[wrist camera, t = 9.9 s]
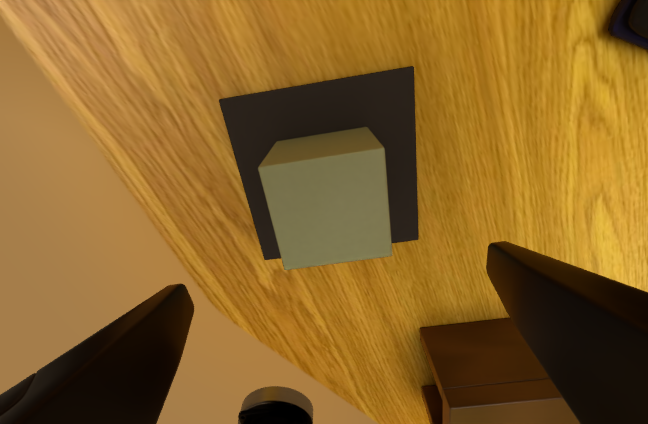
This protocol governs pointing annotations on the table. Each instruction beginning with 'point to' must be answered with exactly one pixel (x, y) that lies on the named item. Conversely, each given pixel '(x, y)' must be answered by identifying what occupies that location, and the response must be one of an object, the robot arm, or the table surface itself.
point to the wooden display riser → (488, 377)
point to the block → (328, 198)
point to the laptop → (631, 22)
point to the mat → (325, 117)
